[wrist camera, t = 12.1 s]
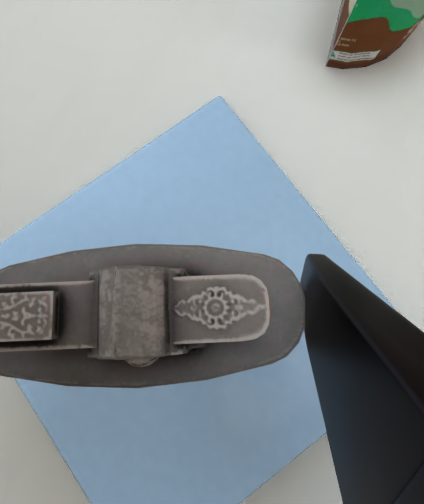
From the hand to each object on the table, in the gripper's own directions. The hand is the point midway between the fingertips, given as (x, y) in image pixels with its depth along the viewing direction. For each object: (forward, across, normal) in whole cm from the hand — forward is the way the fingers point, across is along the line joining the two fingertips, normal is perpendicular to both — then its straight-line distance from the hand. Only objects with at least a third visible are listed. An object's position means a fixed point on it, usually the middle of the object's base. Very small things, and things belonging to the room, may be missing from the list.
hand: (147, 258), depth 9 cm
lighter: (+4, 0, +6) cm, 7 cm away
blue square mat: (+8, 0, +10) cm, 13 cm away
